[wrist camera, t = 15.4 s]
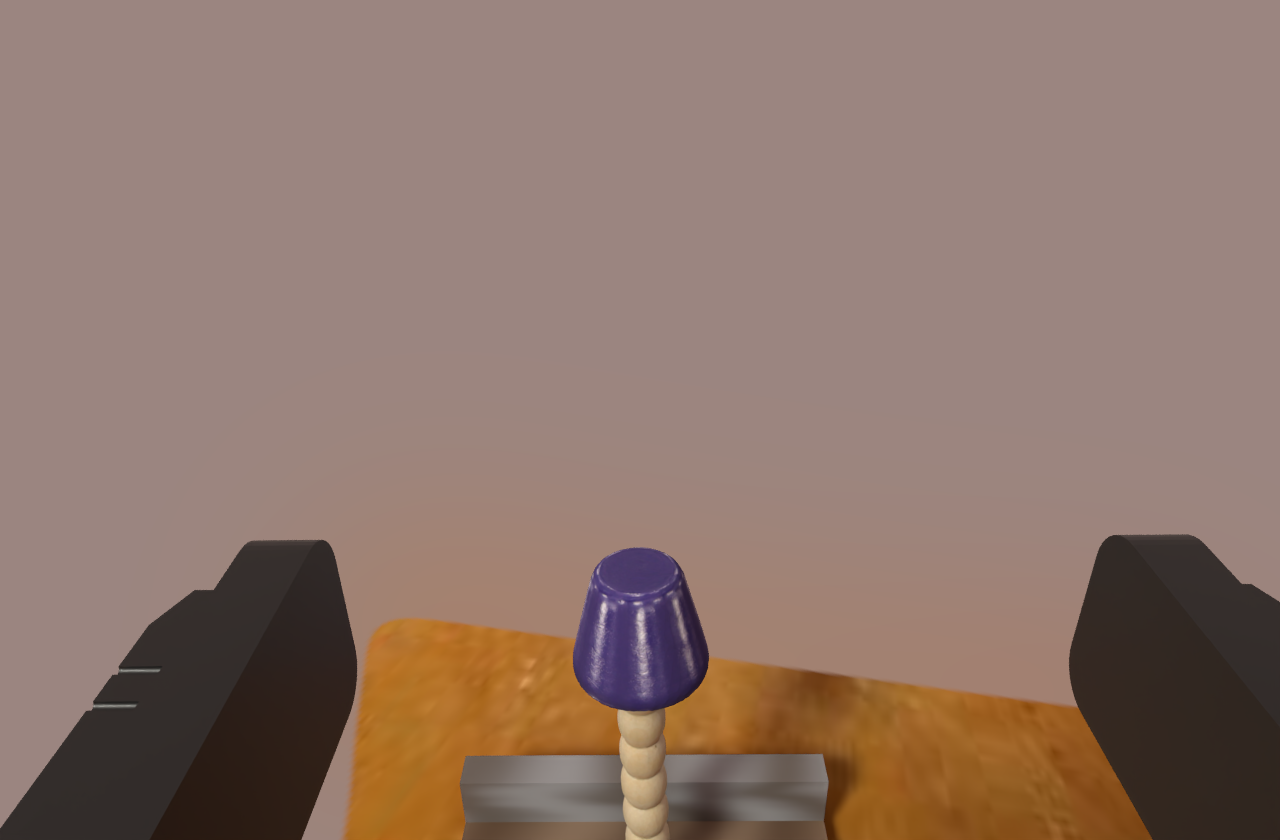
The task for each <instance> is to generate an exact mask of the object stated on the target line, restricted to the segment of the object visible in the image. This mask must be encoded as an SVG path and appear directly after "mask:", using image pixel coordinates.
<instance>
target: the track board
mask: <svg viewBox="0 0 1280 840" xmlns="http://www.w3.org/2000/svg"><path fill="white" fill-rule="evenodd" d="M663 764H664V766H665V769H666V773H667V788H666V792H665V794H666V796H667V800H668V806H669V813H668V819H667V824H668V828H669V834H670V839H669V840H828V839H827V834H826V829H825V824H824V815H825V807H826V799H827V791H828V783H829V781H828V777H827V772H826V768H825V763H824V759H823V754H731V755H665V760H664V763H663ZM622 767H623V764H622V762H621V759H620V755H550V756H466V758H465V763H464V767H463V772H462V776H461V781H460V788H461V794H462V801H463V807H464V814H465V820H466V824H465V829H464V834H463V838H462V840H626V836H625V833H626V827H627V824H626V822H625V819H624V815H623V801H624V797H625V796H624V794H623V791H622V786H621V771H622Z"/></svg>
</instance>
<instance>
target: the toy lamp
mask: <svg viewBox="0 0 1280 840" xmlns="http://www.w3.org/2000/svg"><path fill="white" fill-rule="evenodd" d="M708 661H709V653H708V648H707V643H706V640H705V636H704V633H703V630H702V627H701V624H700V620H699V617H698V614H697V611H696V608H695V605H694V602H693V599H692V597H691V593H690V591H689V587H688V584H687V581H686V579H685V576H684V573H683V571H682V570H681V568H680V566H679V565H678V563H677V562H676V561H675V560H674V559H673V558H672V557H670V556H669V555H667V554H666V553H663V552H661V551H658V550H654V549H650V548H643V547H640V548H629V549H623V550H620V551H617V552H614V553H612V554H610V555H608V556H607V557H605V558H604V559H603V560H602V561H601V562H600V563H599V564H598V565H597V567H596V568H595V570H594V572H593V574H592V577H591V580H590V584H589V587H588V591H587V595H586V600H585V604H584V608H583V612H582V616H581V620H580V625H579V630H578V633H577V638H576V642H575V647H574V652H573V667H574V672H575V675H576V678H577V680H578V682H579V683H580V685H581V687H582V688H583V689H584V690H585V691H586V693H588V694H589V695H590V696H591V697H592V698H594V699H595V700H597V701H599V702H600V703H601V704H604V705H607V706H609V707H611V708H616V709H618V726H619V729H620V732H621V734H622V735H621V739H620V746H619V753H620V759H621V762H622V764H623V767H622V771H621V786H622V791H623V794H624V796H625V797H624V801H623V815H624V819H625V822H626V824H627V827H626V833H625V836H626V840H669V839H670V834H669V828H668V824H667V819H668V813H669V806H668V800H667V796H666V794H665V792H666V788H667V773H666V769H665V766H664V764H663V763H664V760H665V755H666V743H665V738H664V735H663V730H664V727H665V709H664V708H666V707H669V706H672V705H675V704H676V703H678V702H680V701H683V700H684V699H685V698H687V697H689V696H690V695H691V694H692V693H693V692H694V691H695V690H696V689H697V688H698V687H699V686H700V684H701V683H702V681H703V679H704V677H705V675H706V672H707V669H708Z"/></svg>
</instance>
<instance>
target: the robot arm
mask: <svg viewBox="0 0 1280 840" xmlns="http://www.w3.org/2000/svg"><path fill="white" fill-rule="evenodd" d="M1069 671H1070V680H1071V685H1072V690H1073V693H1074V697H1075V700H1076V703H1077V705H1078V707H1079V709H1080V711H1081V713H1082V715H1083V717H1084V719H1085V720H1086V722H1087V724H1088V726H1089V727H1090V729H1091V731H1092V733H1093V735H1094V736H1095V738H1096V740H1097V742H1098V743H1099V745H1100V747H1101V749H1102V750H1103V752H1104V754H1105V756H1106V758H1107V759H1108V761H1109V763H1110V765H1111V766H1112V768H1113V770H1114V772H1115V773H1116V775H1117V777H1118V779H1119V780H1120V782H1121V784H1122V786H1123V788H1124V789H1125V791H1126V793H1127V795H1128V796H1129V798H1130V800H1131V802H1132V803H1133V805H1134V807H1135V809H1136V811H1137V812H1138V814H1139V816H1140V818H1141V819H1142V821H1143V823H1144V825H1145V826H1146V828H1147V830H1148V832H1149V834H1150V835H1151V837H1152V839H1153V840H1280V602H1279V601H1277V600H1276V599H1274V598H1272V597H1271V596H1269V595H1268V594H1266V593H1264V592H1263V591H1261V590H1260V589H1258V588H1256V587H1255V586H1253V585H1252V584H1241V583H1240V582H1239V581H1238V580H1237V579H1236V577H1235V576H1234V575H1232V573H1231V572H1230V571H1229V570H1228V569H1227V568H1226V567H1225V566H1224V565H1223V563H1222V562H1221V561H1220V560H1219V559H1218V558H1217V557H1216V556H1215V555H1214V554H1213V553H1212V552H1211V551H1210V549H1208V547H1207V546H1206V545H1205V544H1204V543H1203V542H1202V541H1200V540H1199V539H1198V538H1196V537H1194V536H1191V535H1113V536H1110V537H1108V538H1107V539H1106V540H1105V541H1104V542H1103V543H1102V545H1101V546H1100V548H1099V551H1098V554H1097V557H1096V560H1095V564H1094V567H1093V571H1092V574H1091V578H1090V581H1089V585H1088V588H1087V592H1086V595H1085V599H1084V603H1083V606H1082V609H1081V613H1080V616H1079V620H1078V623H1077V627H1076V630H1075V634H1074V637H1073V641H1072V645H1071V649H1070V657H1069ZM356 681H357V658H356V650H355V645H354V640H353V636H352V631H351V627H350V622H349V618H348V614H347V609H346V604H345V600H344V596H343V591H342V586H341V582H340V577H339V574H338V568H337V564H336V559H335V556H334V553H333V550H332V548H331V546H330V545H329V543H327V542H326V541H324V540H279V541H277V540H273V541H272V540H271V541H250V542H248V543H247V544H246V545H244V547H243V548H242V549H241V550H240V552H239V553H238V554H237V556H236V558H235V559H234V561H233V562H232V563H231V565H230V566H229V568H228V569H227V571H226V572H225V574H224V576H223V577H222V578H221V580H220V581H219V583H218V584H217V586H216V588H215V589H214V590H194V591H193V592H192V593H190V594H189V595H188V596H186V597H185V598H184V599H183V600H181V601H180V602H179V603H177V604H176V605H175V606H173V607H172V608H171V609H169V610H168V611H167V612H166V613H164V614H163V615H162V616H160V617H159V618H158V619H156V620H155V621H154V622H152V623H151V624H150V625H149V626H148V627H147V629H146V630H145V631H144V633H143V634H142V635H141V637H140V638H139V640H138V641H137V642H136V644H135V645H134V646H133V648H132V649H131V650H130V652H129V653H128V655H127V656H126V657H125V659H124V660H123V661H122V663H121V664H120V665H119V673H118V675H112V677H111V678H110V679H109V680H108V682H107V683H106V685H105V686H104V687H103V689H102V690H101V692H100V693H99V694H98V696H97V697H96V698H95V700H94V701H93V703H94V706H93V709H92V711H86V712H85V713H84V715H83V716H82V717H81V719H80V720H79V722H78V723H77V724H76V726H75V727H74V728H73V730H72V731H71V733H70V734H69V735H68V737H67V738H66V739H65V741H64V742H63V743H62V745H61V746H60V748H59V749H58V750H57V752H56V753H55V754H54V756H53V757H52V759H51V760H50V761H49V763H48V764H47V765H46V767H45V768H44V769H43V771H42V772H41V774H40V775H39V777H38V778H37V779H36V780H35V782H34V783H33V785H32V786H31V787H30V789H29V790H28V791H27V793H26V794H25V795H24V797H23V798H22V800H21V801H20V802H19V804H18V805H17V807H16V808H15V809H14V811H13V812H12V813H11V815H10V816H9V817H8V819H7V820H6V822H5V823H4V824H3V826H2V827H1V828H0V840H301V839H302V836H303V834H304V831H305V829H306V826H307V823H308V821H309V818H310V816H311V813H312V811H313V808H314V805H315V802H316V800H317V798H318V795H319V792H320V790H321V787H322V785H323V782H324V779H325V777H326V774H327V772H328V769H329V767H330V763H331V761H332V759H333V756H334V754H335V751H336V748H337V746H338V743H339V740H340V738H341V735H342V733H343V730H344V727H345V725H346V722H347V720H348V717H349V714H350V712H351V709H352V705H353V701H354V696H355V690H356Z"/></svg>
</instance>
